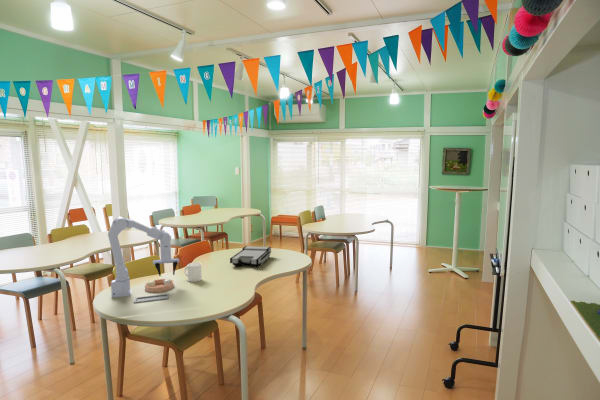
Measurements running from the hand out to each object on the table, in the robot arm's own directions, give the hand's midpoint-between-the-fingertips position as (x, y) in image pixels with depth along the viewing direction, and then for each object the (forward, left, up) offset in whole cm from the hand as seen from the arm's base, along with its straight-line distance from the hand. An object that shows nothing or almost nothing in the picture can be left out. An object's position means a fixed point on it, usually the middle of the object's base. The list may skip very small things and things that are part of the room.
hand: (166, 275), depth 218 cm
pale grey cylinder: (0, 0, -7) cm, 7 cm away
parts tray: (-7, -18, -8) cm, 21 cm away
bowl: (-4, 0, -8) cm, 9 cm away
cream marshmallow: (-9, 0, -7) cm, 11 cm away
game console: (+58, +38, -8) cm, 69 cm away
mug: (+15, +10, -8) cm, 19 cm away
